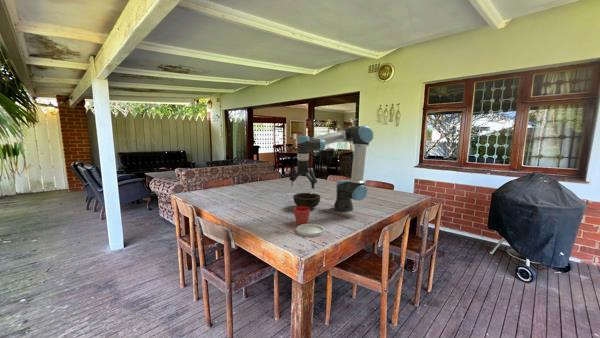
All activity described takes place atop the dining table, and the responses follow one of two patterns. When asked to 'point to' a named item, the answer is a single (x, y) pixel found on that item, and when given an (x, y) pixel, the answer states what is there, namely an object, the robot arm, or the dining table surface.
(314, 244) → the dining table surface
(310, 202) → the bowl
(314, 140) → the robot arm
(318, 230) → the saucer
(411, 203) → the dining table surface
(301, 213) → the flower pot
